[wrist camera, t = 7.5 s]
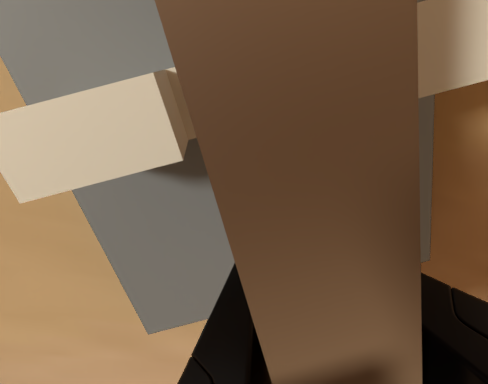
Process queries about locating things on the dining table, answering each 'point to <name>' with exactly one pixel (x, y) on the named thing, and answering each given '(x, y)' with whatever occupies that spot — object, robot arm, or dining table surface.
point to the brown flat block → (313, 174)
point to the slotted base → (154, 199)
